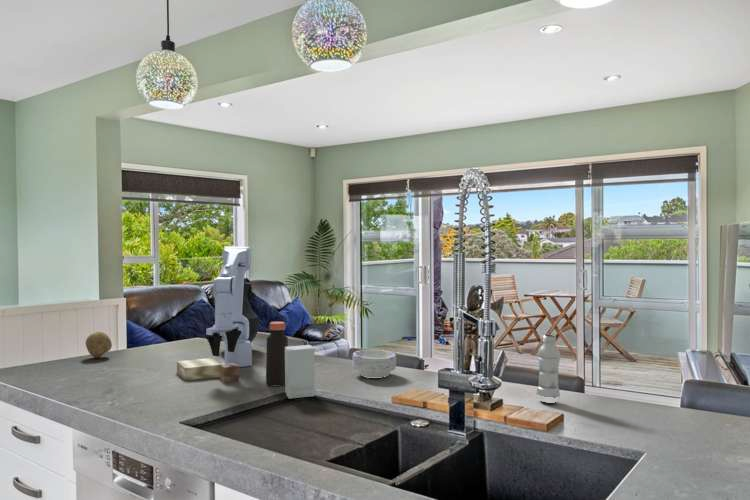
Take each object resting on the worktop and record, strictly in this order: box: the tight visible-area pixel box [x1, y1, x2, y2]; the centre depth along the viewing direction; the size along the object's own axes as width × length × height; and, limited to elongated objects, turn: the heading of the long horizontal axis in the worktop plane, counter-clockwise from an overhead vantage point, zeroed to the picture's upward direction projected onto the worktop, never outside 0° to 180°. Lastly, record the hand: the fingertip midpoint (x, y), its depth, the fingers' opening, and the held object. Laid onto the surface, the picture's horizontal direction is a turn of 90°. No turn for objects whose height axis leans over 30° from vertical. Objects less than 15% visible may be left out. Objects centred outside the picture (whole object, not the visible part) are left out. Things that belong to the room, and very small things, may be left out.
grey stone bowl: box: [352, 349, 397, 377], centre depth 199 cm, size 15×15×8 cm
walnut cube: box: [219, 363, 240, 383], centre depth 189 cm, size 5×5×5 cm
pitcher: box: [218, 277, 260, 344], centre depth 241 cm, size 17×21×30 cm
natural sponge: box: [85, 331, 113, 359], centre depth 220 cm, size 9×9×10 cm
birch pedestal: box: [176, 357, 221, 381], centre depth 196 cm, size 12×12×4 cm
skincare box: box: [284, 344, 316, 400], centre depth 172 cm, size 8×6×15 cm
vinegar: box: [265, 321, 289, 386], centre depth 185 cm, size 7×7×20 cm
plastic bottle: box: [536, 334, 561, 398], centre depth 169 cm, size 6×7×20 cm
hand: (223, 353), depth 190 cm, fingers open, 7 cm apart
